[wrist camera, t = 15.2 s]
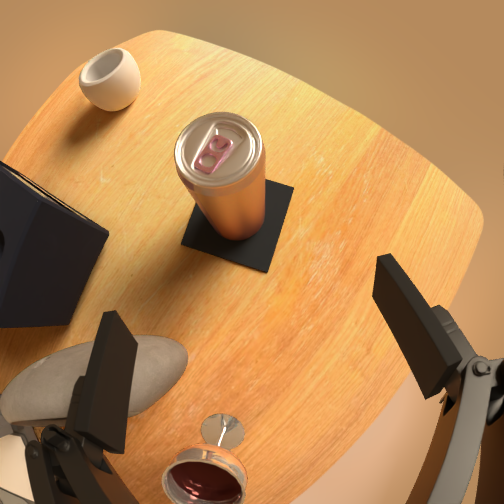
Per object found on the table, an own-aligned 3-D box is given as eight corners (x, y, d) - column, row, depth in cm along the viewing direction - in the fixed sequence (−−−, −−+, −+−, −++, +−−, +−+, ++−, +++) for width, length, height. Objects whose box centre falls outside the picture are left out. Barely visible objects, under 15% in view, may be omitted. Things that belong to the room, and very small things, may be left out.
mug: (158, 89, 36) (141, 53, 28) (115, 127, 35) (89, 96, 27) (119, 65, 38) (102, 35, 30) (82, 98, 37) (59, 71, 29)
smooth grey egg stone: (89, 405, 29) (-13, 453, 10) (69, 354, 30) (-44, 373, 12) (218, 371, 29) (160, 453, 11) (194, 310, 31) (103, 319, 12)
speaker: (117, 235, 32) (36, 193, 18) (75, 326, 31) (-13, 330, 16) (30, 178, 35) (-32, 139, 20) (-2, 249, 33) (-69, 229, 18)
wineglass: (253, 408, 28) (247, 462, 17) (251, 457, 27) (245, 520, 16) (192, 403, 29) (156, 451, 17) (194, 452, 28) (165, 510, 16)
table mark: (293, 188, 32) (294, 187, 32) (267, 272, 31) (267, 272, 31) (211, 165, 33) (211, 164, 33) (181, 244, 32) (180, 244, 32)
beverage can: (200, 224, 32) (153, 164, 17) (229, 181, 33) (205, 98, 18) (246, 252, 31) (231, 207, 16) (275, 206, 32) (282, 131, 17)
